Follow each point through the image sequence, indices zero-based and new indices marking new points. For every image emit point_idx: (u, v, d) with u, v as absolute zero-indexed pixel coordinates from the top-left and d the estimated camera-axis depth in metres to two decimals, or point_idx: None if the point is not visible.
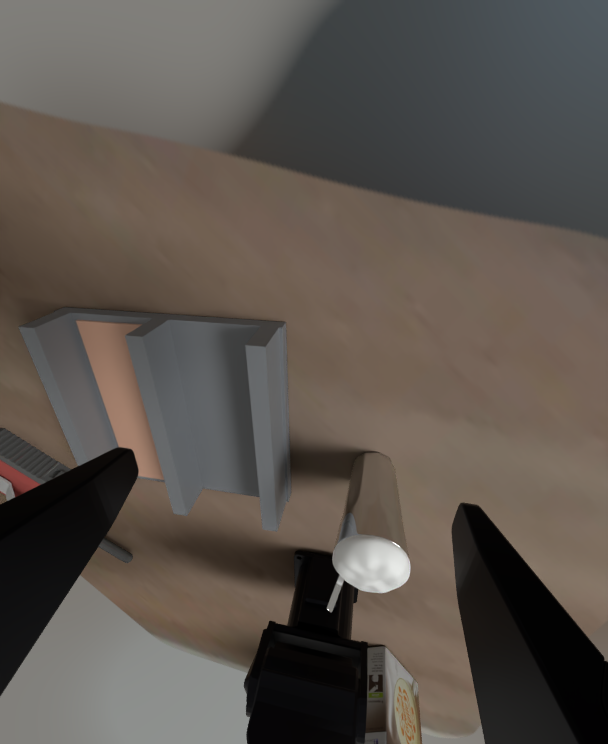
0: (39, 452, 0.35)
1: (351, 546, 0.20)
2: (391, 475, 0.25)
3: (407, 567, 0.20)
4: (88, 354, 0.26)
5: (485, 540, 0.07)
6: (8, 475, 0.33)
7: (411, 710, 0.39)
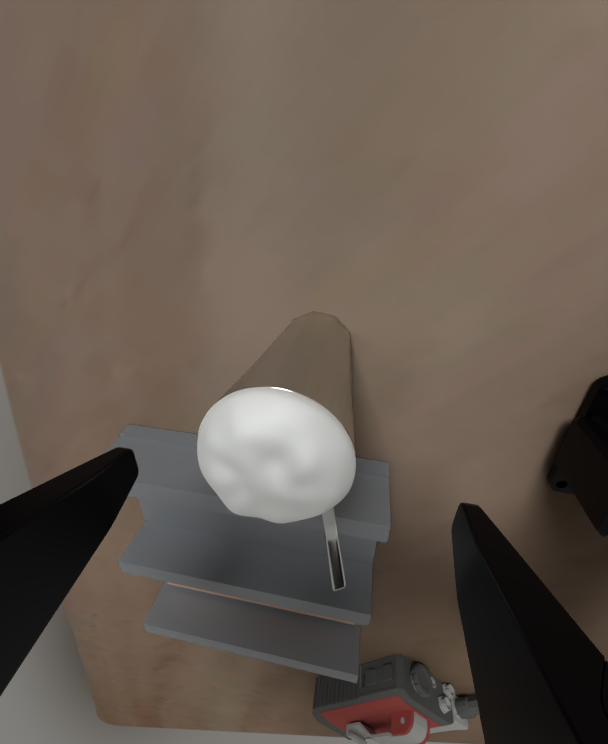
0: None
1: None
2: (281, 333, 0.15)
3: (240, 403, 0.09)
4: (200, 589, 0.28)
5: (485, 540, 0.07)
6: (350, 717, 0.30)
7: None
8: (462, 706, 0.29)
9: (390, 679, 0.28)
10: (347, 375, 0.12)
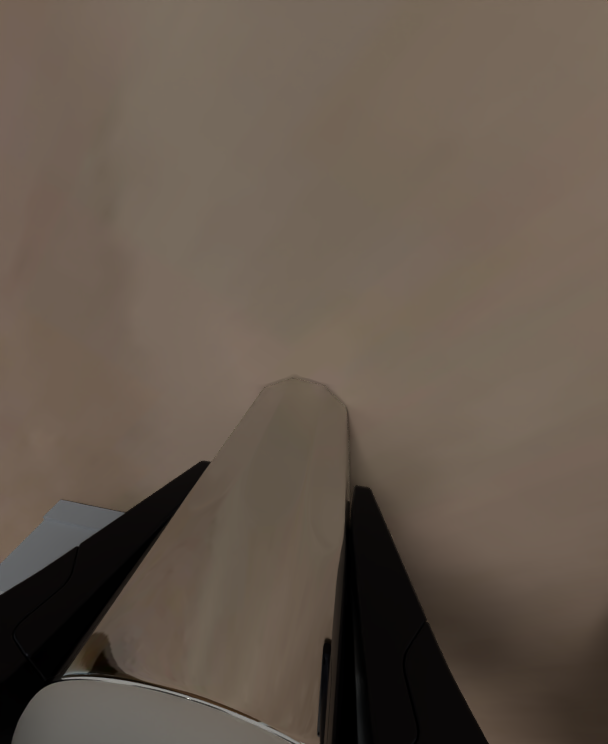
0: None
1: None
2: (240, 421, 0.09)
3: None
4: None
5: (361, 518, 0.08)
6: None
7: None
8: None
9: None
10: (342, 526, 0.07)
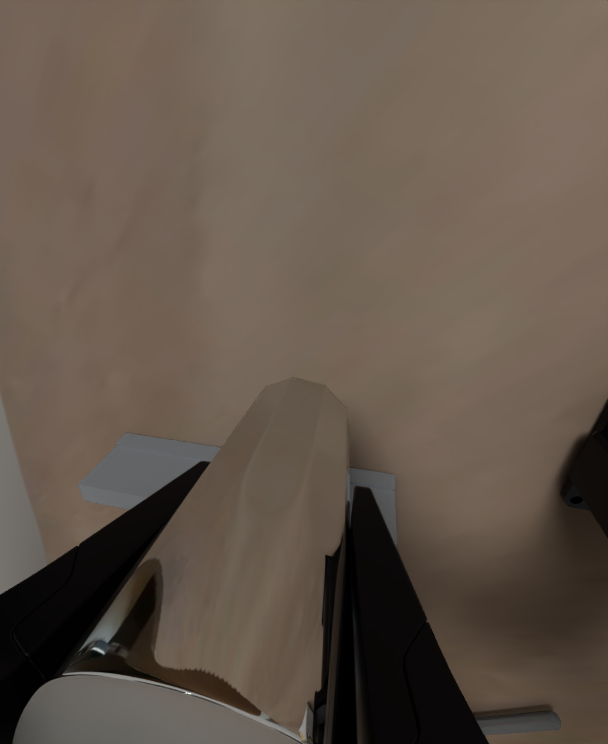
0: None
1: None
2: (241, 420, 0.09)
3: None
4: None
5: (361, 518, 0.08)
6: None
7: None
8: None
9: None
10: (342, 525, 0.07)
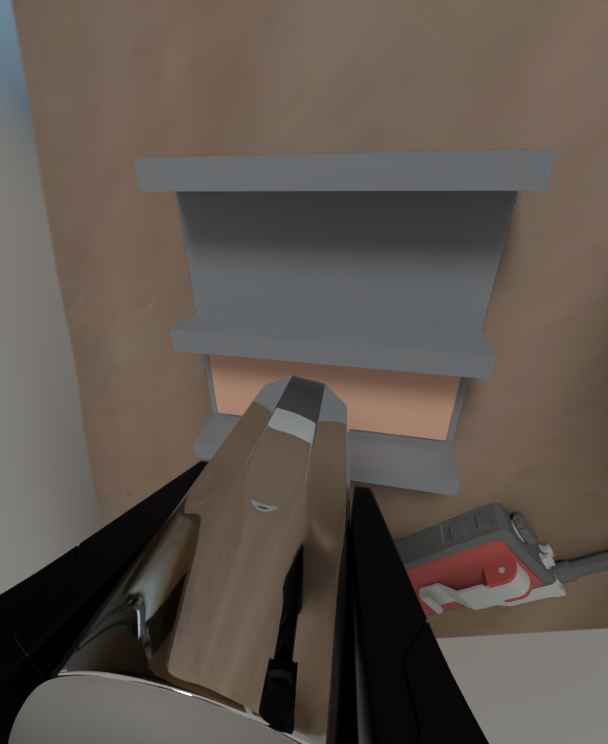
0: (417, 534, 0.27)
1: None
2: (240, 418, 0.09)
3: None
4: None
5: (361, 518, 0.08)
6: (426, 578, 0.26)
7: None
8: (562, 568, 0.25)
9: (488, 524, 0.24)
10: (343, 524, 0.07)
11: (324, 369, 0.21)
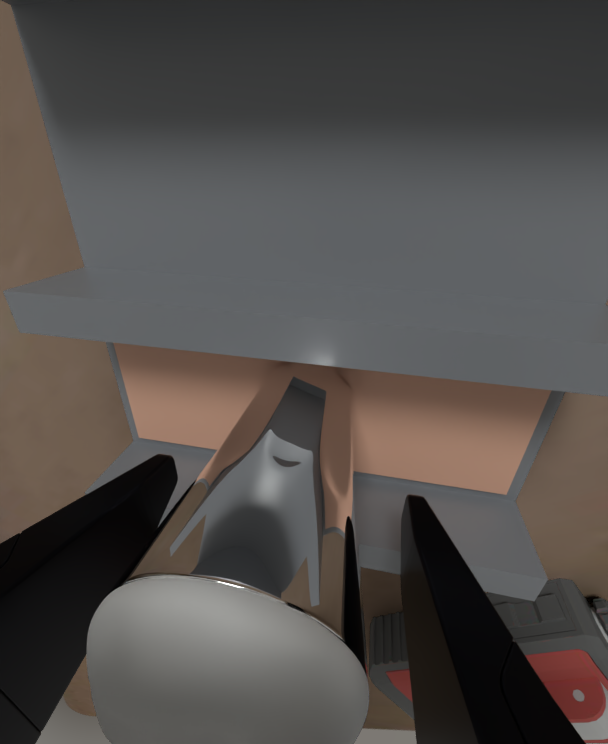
0: None
1: None
2: None
3: (150, 623, 0.04)
4: (198, 445, 0.15)
5: (422, 529, 0.07)
6: None
7: None
8: None
9: (560, 619, 0.15)
10: (350, 482, 0.08)
11: None
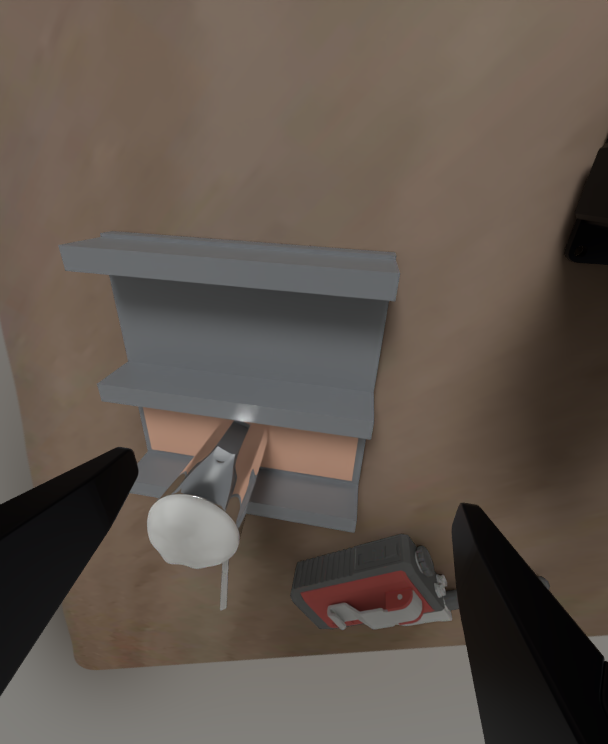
0: (334, 555, 0.30)
1: None
2: (215, 430, 0.22)
3: (170, 505, 0.15)
4: (186, 453, 0.26)
5: (485, 540, 0.07)
6: (336, 597, 0.28)
7: None
8: (452, 597, 0.28)
9: (395, 555, 0.26)
10: (249, 470, 0.19)
11: None
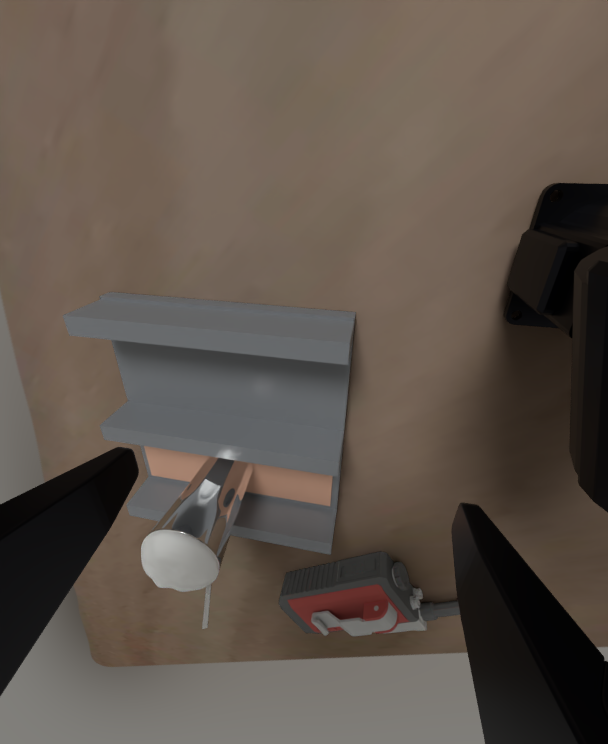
0: (320, 566, 0.32)
1: None
2: (204, 463, 0.24)
3: (158, 539, 0.18)
4: (182, 479, 0.29)
5: (485, 540, 0.07)
6: (319, 605, 0.31)
7: None
8: (427, 608, 0.31)
9: (373, 570, 0.29)
10: (231, 503, 0.22)
11: None
